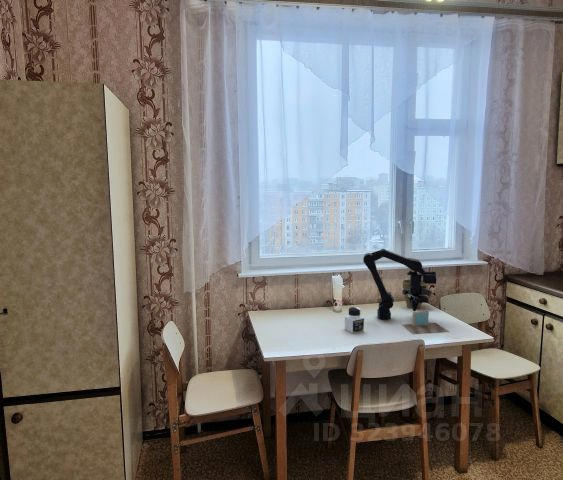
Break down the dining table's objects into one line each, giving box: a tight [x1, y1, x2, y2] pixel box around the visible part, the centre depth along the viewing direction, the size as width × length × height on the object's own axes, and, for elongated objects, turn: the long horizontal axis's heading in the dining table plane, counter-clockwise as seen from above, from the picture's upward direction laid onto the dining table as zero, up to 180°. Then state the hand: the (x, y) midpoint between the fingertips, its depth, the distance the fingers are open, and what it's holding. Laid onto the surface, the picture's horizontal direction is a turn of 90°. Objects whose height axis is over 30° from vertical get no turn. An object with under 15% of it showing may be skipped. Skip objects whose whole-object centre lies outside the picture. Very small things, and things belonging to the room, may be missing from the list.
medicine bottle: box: [344, 306, 365, 334], centre depth 211 cm, size 7×7×12 cm
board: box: [401, 322, 450, 335], centre depth 211 cm, size 20×14×1 cm
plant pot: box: [402, 278, 429, 310], centre depth 249 cm, size 15×15×16 cm
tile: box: [411, 310, 430, 326], centre depth 215 cm, size 8×2×7 cm, turn 98°
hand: (414, 310), depth 222 cm, fingers closed
